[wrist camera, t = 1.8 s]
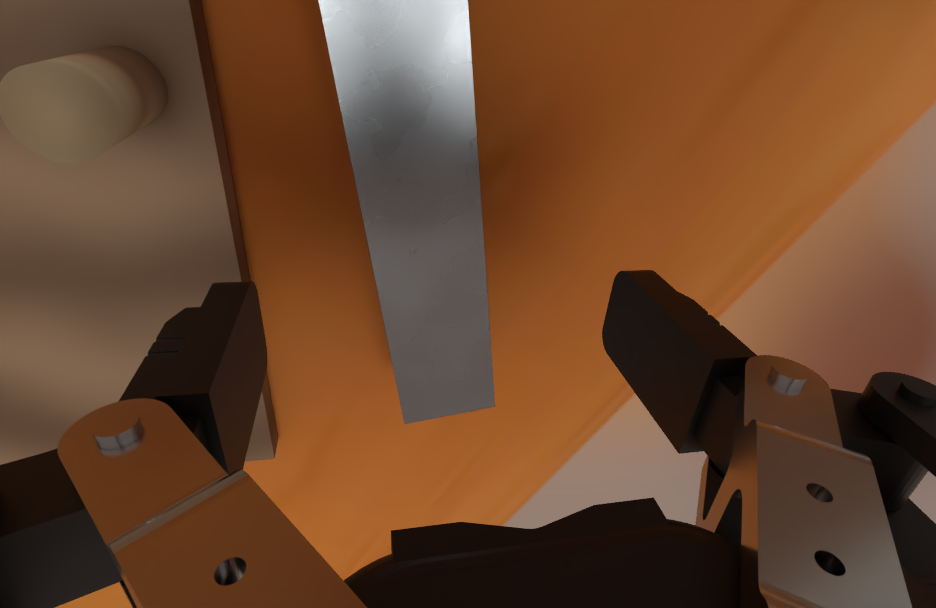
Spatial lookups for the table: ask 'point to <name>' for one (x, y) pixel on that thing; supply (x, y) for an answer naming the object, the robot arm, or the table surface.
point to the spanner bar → (418, 191)
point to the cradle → (105, 205)
